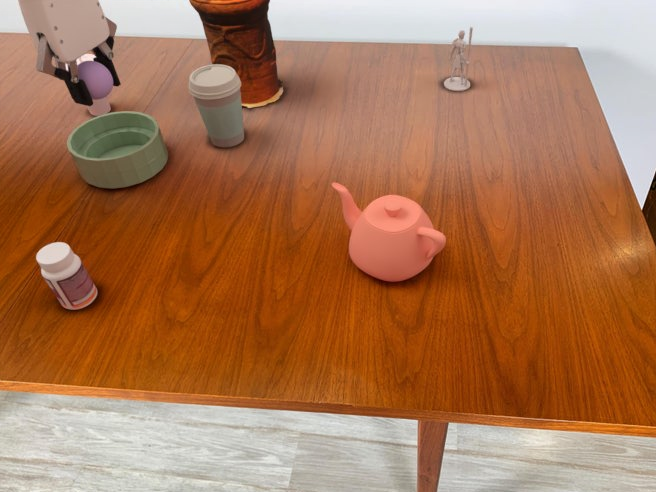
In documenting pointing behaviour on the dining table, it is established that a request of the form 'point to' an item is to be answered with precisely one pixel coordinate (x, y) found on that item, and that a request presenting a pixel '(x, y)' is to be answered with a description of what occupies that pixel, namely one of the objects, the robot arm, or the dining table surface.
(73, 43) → the robot arm
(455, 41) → the figurine
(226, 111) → the coffee cup
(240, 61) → the vessel
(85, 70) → the ball
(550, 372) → the dining table surface
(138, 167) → the bowl
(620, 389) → the dining table surface
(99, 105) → the smoothie
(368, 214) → the teapot
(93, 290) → the pill bottle
